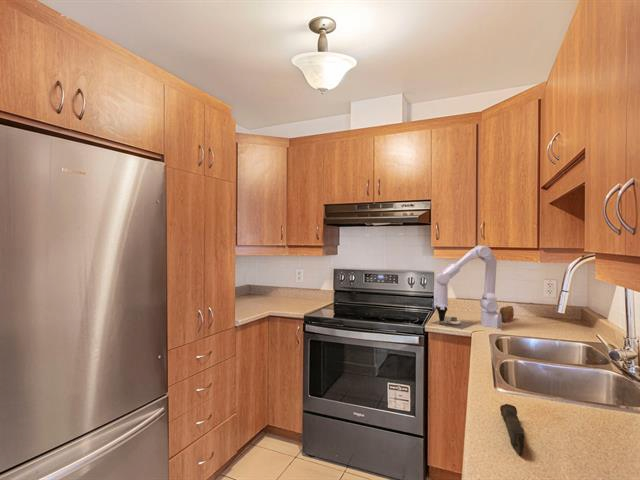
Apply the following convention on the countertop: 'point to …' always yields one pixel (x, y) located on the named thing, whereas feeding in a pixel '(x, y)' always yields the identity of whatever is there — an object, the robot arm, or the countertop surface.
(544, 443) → the countertop surface
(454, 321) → the dial
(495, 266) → the robot arm
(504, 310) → the brown slab
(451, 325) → the dial plate
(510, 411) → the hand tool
